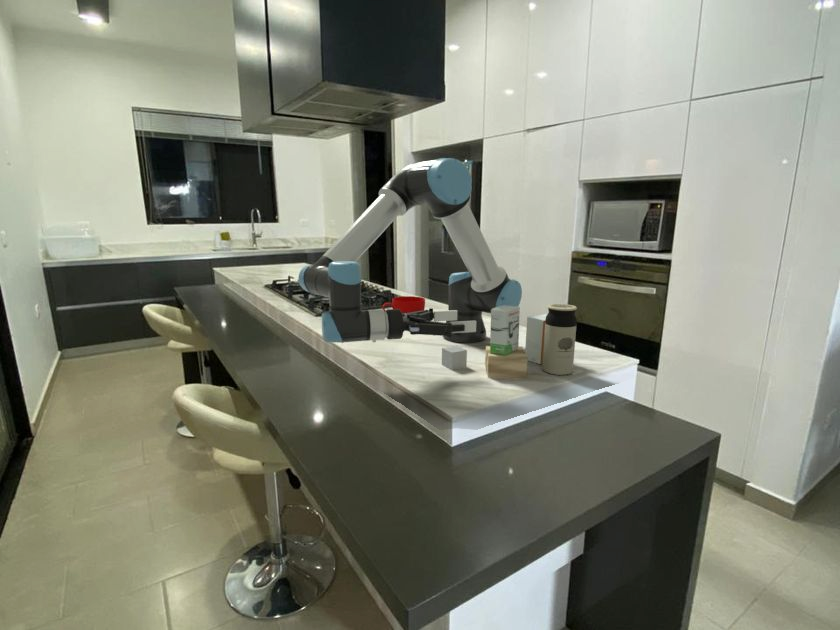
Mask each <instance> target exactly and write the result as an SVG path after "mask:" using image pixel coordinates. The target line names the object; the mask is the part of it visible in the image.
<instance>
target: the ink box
mask: <svg viewBox="0 0 840 630" xmlns="http://www.w3.org/2000/svg"><path fill="white" fill-rule="evenodd" d="M520 308H521V307H520V306H518V307H515V306H507V305H503V306H499V307H496V308H493V309H492V310H491V314H490V332H489V333H490V335H489V336H490V338H489V339H490V340H489V346H490V353H496V354H502V355H507V354H509V353H511V352H513V351H514V350H516V349H518V347H519V339H520V338H519V337H520V311H521V309H520Z"/></svg>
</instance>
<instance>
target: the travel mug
mask: <svg viewBox="0 0 840 630" xmlns="http://www.w3.org/2000/svg"><path fill="white" fill-rule="evenodd" d="M547 309H548V313H546V314H547V316H546V320H545V335H544V351H543V364H542V366H541V368H542V369H541V370H542V371H544V372H545V373H548V374H551V375H554V374H555V375H556V376H568V375H570V374H572V373H574V360H575V348H576V336H577V335H576V332H577V325H578V319H577V316H576V310H577V309H578V307H577V306H576V305H572V304H566V303H550V304H547ZM567 374H568V375H567Z"/></svg>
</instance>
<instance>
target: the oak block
mask: <svg viewBox="0 0 840 630" xmlns="http://www.w3.org/2000/svg"><path fill="white" fill-rule="evenodd" d="M484 352H485V355H484V367H485V371H486V376H487V378H498V379H499V378H501V379H527V374H528V361H529V360H528V357H527V355H526V353H525V349H524V348H523V346H518V349H516V350H514V351H513V352H511V353H509V354H507V355H502V354H496V353H490V345H485V351H484Z"/></svg>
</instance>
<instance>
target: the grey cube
mask: <svg viewBox="0 0 840 630" xmlns="http://www.w3.org/2000/svg"><path fill="white" fill-rule="evenodd" d="M467 358H468V349H466V348H463V347H461V346H458V345H454V346H447V347H442V348H441V365H442V366H443V367H445V368H447V369H449V370H453V371H454V370H458V369H463V368H467V362H468V361H467V360H468V359H467Z"/></svg>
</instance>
